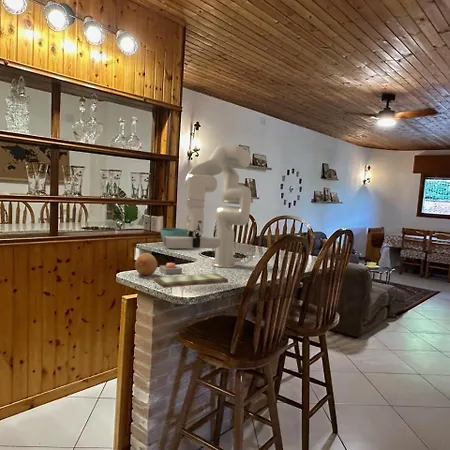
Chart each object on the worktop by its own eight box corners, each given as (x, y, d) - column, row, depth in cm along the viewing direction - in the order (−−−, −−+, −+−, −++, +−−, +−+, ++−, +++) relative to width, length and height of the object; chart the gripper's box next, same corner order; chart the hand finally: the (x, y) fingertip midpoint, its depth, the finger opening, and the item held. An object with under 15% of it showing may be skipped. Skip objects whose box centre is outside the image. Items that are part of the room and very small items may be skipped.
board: (215, 276, 175) (215, 273, 175) (227, 281, 166) (227, 278, 166) (153, 280, 160) (153, 277, 160) (163, 287, 151) (163, 283, 150)
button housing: (174, 269, 183) (175, 264, 183) (181, 273, 176) (182, 268, 176) (159, 270, 179) (159, 265, 179) (165, 274, 172) (165, 269, 172)
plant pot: (155, 248, 241) (155, 229, 240) (166, 244, 259) (166, 227, 258) (182, 251, 237) (183, 231, 236) (191, 247, 255) (192, 229, 254)
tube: (217, 237, 170) (162, 237, 159) (221, 235, 165) (166, 234, 154) (217, 249, 169) (163, 249, 158) (222, 247, 164) (166, 247, 153)
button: (172, 268, 180) (173, 262, 180) (176, 270, 177) (176, 264, 177) (164, 269, 178) (165, 263, 178) (168, 271, 175) (168, 264, 175)
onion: (158, 277, 165) (159, 255, 164) (134, 278, 163) (135, 255, 162) (156, 272, 174) (157, 251, 174) (134, 272, 172) (134, 251, 171)
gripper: (179, 202, 165) (177, 243, 167) (196, 205, 151) (193, 250, 152) (194, 203, 169) (192, 243, 171) (212, 205, 155) (210, 249, 156)
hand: (193, 246), depth 162 cm, fingers closed on tube, 5 cm apart
